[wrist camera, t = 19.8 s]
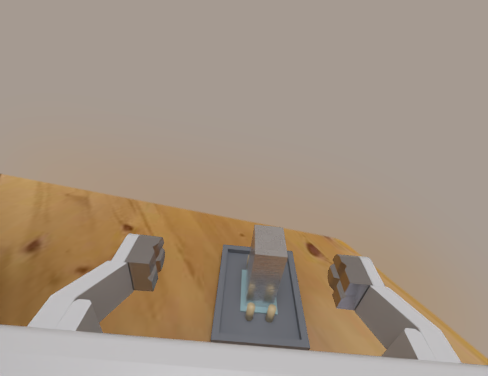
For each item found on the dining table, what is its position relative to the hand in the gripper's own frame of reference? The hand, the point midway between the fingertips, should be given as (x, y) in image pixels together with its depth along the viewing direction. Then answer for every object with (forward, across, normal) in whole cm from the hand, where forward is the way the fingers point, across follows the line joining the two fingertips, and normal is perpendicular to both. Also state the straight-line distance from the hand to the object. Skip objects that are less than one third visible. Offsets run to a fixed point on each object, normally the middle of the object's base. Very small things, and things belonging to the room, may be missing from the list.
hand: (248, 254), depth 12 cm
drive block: (+18, -5, +28) cm, 34 cm away
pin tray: (+18, -5, +30) cm, 35 cm away
